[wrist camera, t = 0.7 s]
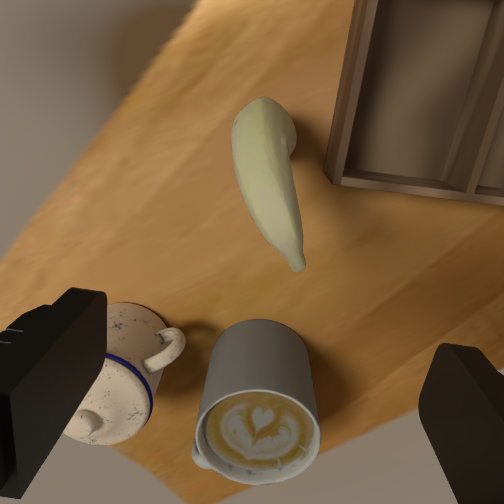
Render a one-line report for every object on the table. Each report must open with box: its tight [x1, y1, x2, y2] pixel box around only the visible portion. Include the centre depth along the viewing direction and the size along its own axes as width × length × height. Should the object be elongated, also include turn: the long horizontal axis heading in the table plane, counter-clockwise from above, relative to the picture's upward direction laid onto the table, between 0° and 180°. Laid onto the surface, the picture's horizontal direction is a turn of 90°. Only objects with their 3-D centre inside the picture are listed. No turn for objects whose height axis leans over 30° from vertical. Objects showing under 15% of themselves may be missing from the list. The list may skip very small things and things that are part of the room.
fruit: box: [232, 97, 306, 272], centre depth 25 cm, size 7×15×3 cm
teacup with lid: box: [62, 303, 186, 445], centre depth 35 cm, size 12×9×12 cm
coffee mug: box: [192, 319, 321, 485], centre depth 36 cm, size 13×10×10 cm
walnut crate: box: [323, 0, 504, 206], centre depth 29 cm, size 20×14×5 cm
